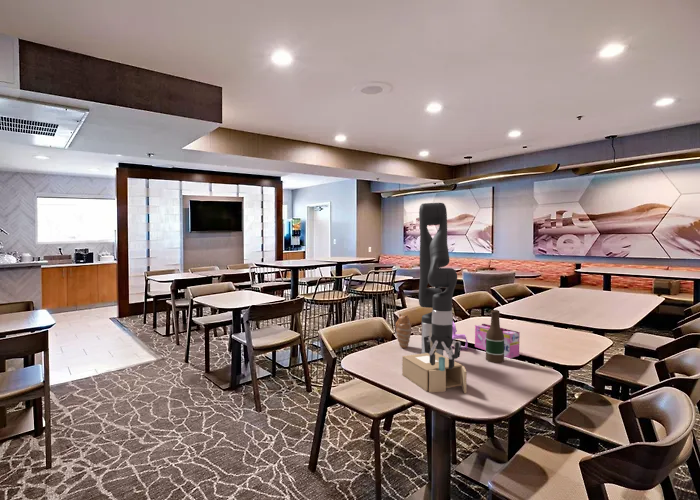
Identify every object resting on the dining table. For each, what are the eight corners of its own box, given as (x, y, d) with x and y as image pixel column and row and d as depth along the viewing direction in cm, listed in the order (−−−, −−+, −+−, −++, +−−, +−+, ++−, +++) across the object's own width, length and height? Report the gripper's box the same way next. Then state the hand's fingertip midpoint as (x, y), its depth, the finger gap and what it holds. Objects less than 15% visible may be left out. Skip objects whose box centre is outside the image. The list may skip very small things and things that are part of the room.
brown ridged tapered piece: (392, 348, 193) (392, 314, 192) (402, 345, 198) (402, 312, 197) (405, 352, 186) (405, 316, 186) (415, 349, 191) (415, 314, 191)
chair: (468, 352, 185) (468, 323, 185) (449, 351, 187) (450, 322, 186) (465, 348, 193) (466, 319, 193) (448, 347, 195) (448, 318, 195)
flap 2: (461, 386, 142) (461, 365, 142) (463, 386, 142) (463, 365, 142) (464, 393, 136) (464, 371, 136) (466, 393, 136) (466, 371, 136)
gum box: (472, 348, 192) (472, 324, 192) (482, 346, 196) (482, 323, 195) (509, 360, 173) (510, 333, 172) (520, 358, 176) (520, 332, 176)
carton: (434, 370, 160) (435, 351, 160) (461, 385, 143) (462, 364, 143) (402, 375, 154) (402, 355, 154) (426, 391, 137) (426, 369, 137)
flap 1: (430, 393, 136) (430, 359, 135) (428, 390, 138) (428, 357, 138) (446, 392, 137) (446, 358, 136) (443, 389, 139) (444, 356, 139)
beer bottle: (485, 363, 168) (485, 311, 168) (486, 358, 176) (486, 308, 175) (504, 365, 166) (504, 312, 165) (503, 360, 173) (504, 309, 172)
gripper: (419, 321, 138) (419, 365, 139) (456, 326, 129) (456, 374, 130) (428, 317, 144) (428, 360, 145) (464, 322, 135) (464, 368, 136)
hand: (441, 366), depth 137 cm, fingers open, 6 cm apart
